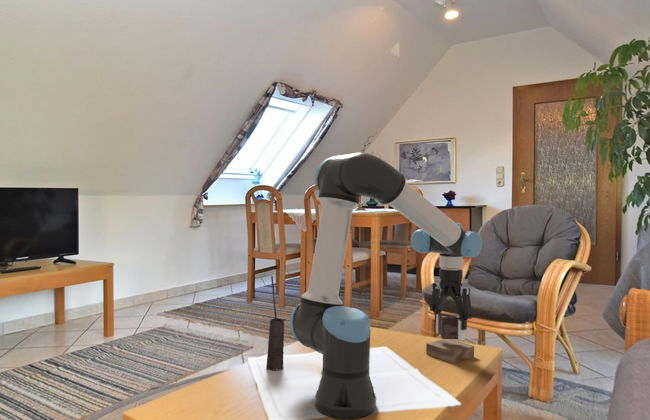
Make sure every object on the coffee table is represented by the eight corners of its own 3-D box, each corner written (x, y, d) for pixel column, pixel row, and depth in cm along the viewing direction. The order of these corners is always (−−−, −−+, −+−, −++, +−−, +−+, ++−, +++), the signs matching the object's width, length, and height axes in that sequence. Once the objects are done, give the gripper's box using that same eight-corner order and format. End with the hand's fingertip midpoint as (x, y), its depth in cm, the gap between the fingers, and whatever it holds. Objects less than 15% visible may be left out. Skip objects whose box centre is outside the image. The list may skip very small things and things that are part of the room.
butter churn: (299, 366, 140) (300, 276, 140) (280, 376, 132) (281, 280, 132) (277, 360, 145) (278, 273, 145) (256, 369, 137) (257, 276, 137)
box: (457, 335, 155) (457, 313, 155) (460, 340, 149) (461, 317, 149) (439, 334, 155) (439, 312, 155) (442, 339, 149) (442, 317, 149)
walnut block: (452, 364, 145) (452, 352, 145) (426, 355, 153) (426, 343, 153) (473, 358, 151) (474, 346, 151) (447, 349, 160) (447, 338, 160)
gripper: (485, 271, 146) (484, 341, 146) (433, 264, 163) (432, 327, 163) (471, 273, 141) (470, 345, 142) (419, 265, 158) (418, 330, 158)
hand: (450, 335), depth 152 cm, fingers closed on box, 8 cm apart
